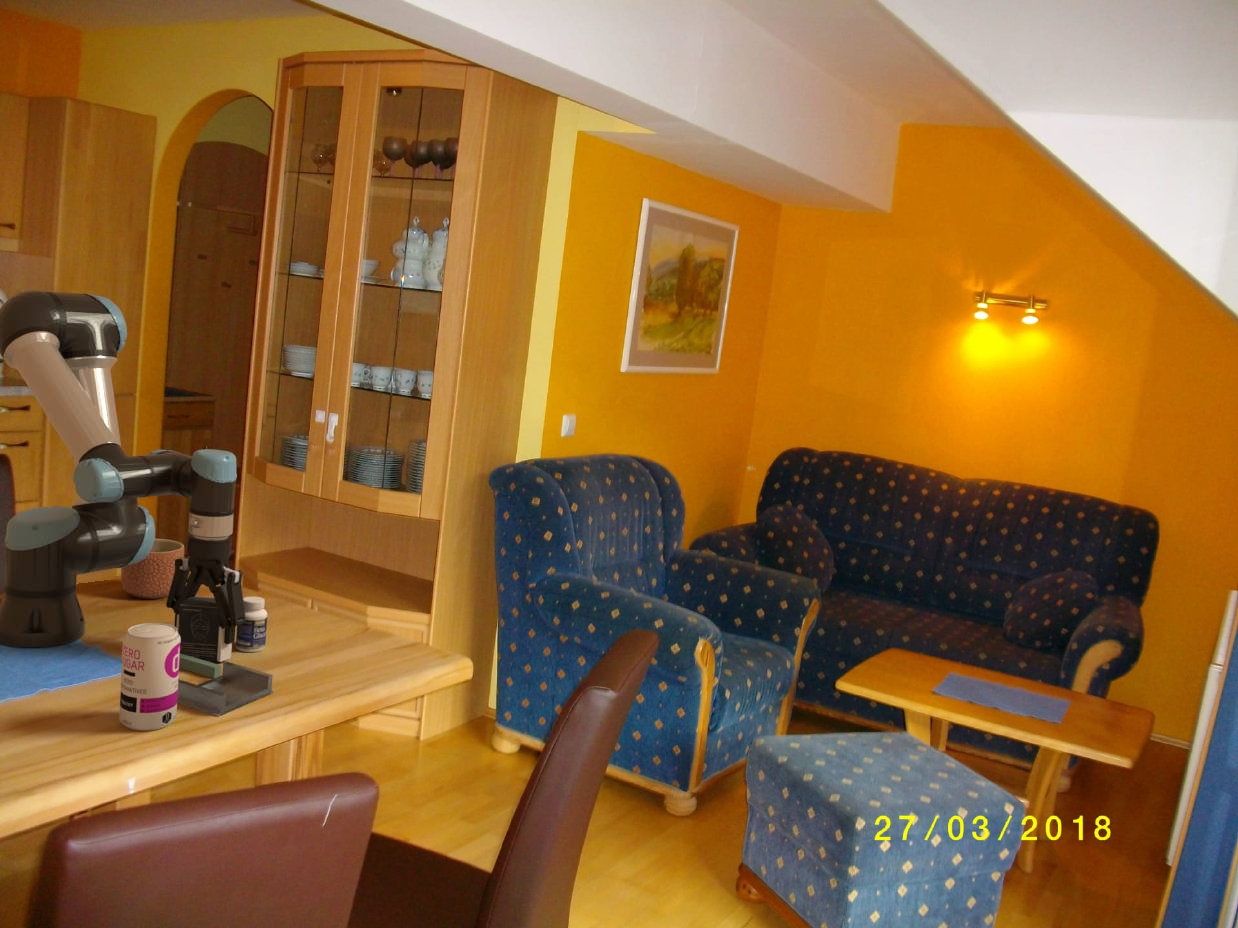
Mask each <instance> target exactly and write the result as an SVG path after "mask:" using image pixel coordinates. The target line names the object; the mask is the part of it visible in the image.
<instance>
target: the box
mask: <svg viewBox="0 0 1238 928" xmlns="http://www.w3.org/2000/svg"><path fill="white" fill-rule="evenodd" d="M229 620H230V618H229ZM220 626H223V623H222V620H221V617H220V614H219V611H218V608H217V604H216V601H215V598H214V597H204V596H203V597H202V596H195V597H191V598H187V599H186V600H185V601H183V602H182V603H181V604H180V607H179V627H178V634H179V636H180V637H181V640H180V653H181V654H184V655H187V656H191V657H194V658H198V659H201V660H204V661H208V662H213V663H214V662H216V663H220V662H219V661H217V654H218V638H219V627H220Z"/></svg>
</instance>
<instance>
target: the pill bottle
mask: <svg viewBox="0 0 1238 928" xmlns="http://www.w3.org/2000/svg"><path fill="white" fill-rule="evenodd" d="M265 602H266V601H265V598H264V597H260V596H246V597H243V603H244V611H245V618H246V622H245V623H243V624H240V625H237V626H236V632H235V649H236V650H237V651H240V652H243V653H258V652H261V651H263V650H264V649H265V648H266V642H267V639H266V638H267V627H268V612H267V610H266V609H265V604H266V603H265Z"/></svg>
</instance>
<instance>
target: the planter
mask: <svg viewBox="0 0 1238 928" xmlns="http://www.w3.org/2000/svg"><path fill="white" fill-rule="evenodd" d="M183 557H185V545H184V544H183V543H182V542H179V541H176V540H172V539H166V538H155V539H154V543H153V546H152V549H151V550H150V551H149V553H148V555H147V556H146V558H145V559H143V560H142V561H140V562H139V563H136V564H132V565H128V566H126V567H123V568H120V580H121V586H122V588H123V589H124V590H125V591H126V593H128V595H130V596H132V597H135V598H139V599H143V600H155V599H156V600H157V599H164V598H168V595H169V591H170V587H171V584H172V580H173V576H174V572H175V560H176V559H179V558H183Z"/></svg>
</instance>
